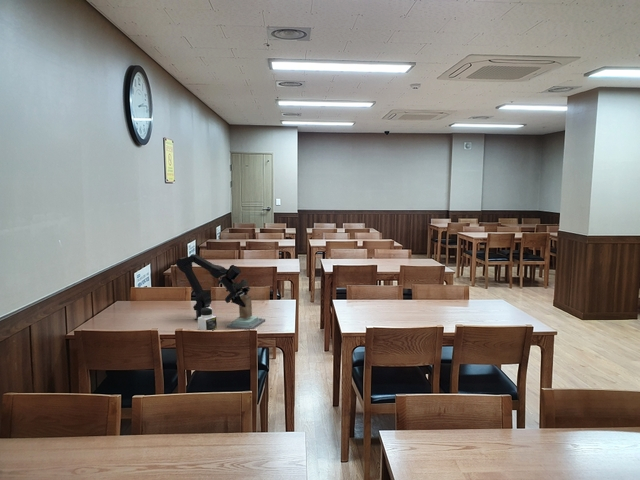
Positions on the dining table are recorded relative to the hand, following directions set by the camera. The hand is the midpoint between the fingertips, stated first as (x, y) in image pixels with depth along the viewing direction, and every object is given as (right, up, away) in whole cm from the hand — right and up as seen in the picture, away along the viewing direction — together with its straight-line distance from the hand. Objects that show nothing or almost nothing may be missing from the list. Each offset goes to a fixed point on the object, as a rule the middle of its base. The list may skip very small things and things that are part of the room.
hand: (247, 305), depth 247 cm
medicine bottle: (-21, -12, -5) cm, 25 cm away
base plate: (-1, -11, +2) cm, 11 cm away
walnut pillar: (-1, -6, +1) cm, 7 cm away
